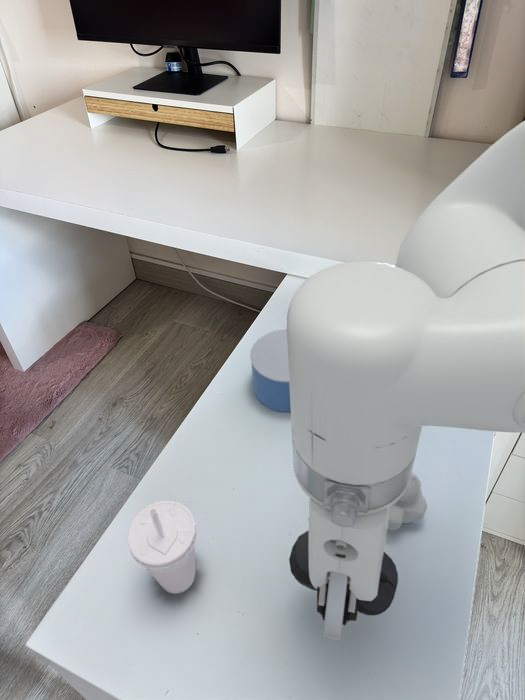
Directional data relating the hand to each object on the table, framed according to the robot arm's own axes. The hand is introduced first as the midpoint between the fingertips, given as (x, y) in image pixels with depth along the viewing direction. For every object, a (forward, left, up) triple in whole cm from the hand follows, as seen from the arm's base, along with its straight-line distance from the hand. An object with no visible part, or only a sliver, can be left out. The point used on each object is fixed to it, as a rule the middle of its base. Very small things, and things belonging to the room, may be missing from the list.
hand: (342, 571), depth 44 cm
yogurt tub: (+11, -29, -9) cm, 32 cm away
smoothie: (+17, 0, -9) cm, 19 cm away
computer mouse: (0, 0, -1) cm, 1 cm away
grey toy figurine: (-5, -12, -9) cm, 16 cm away
